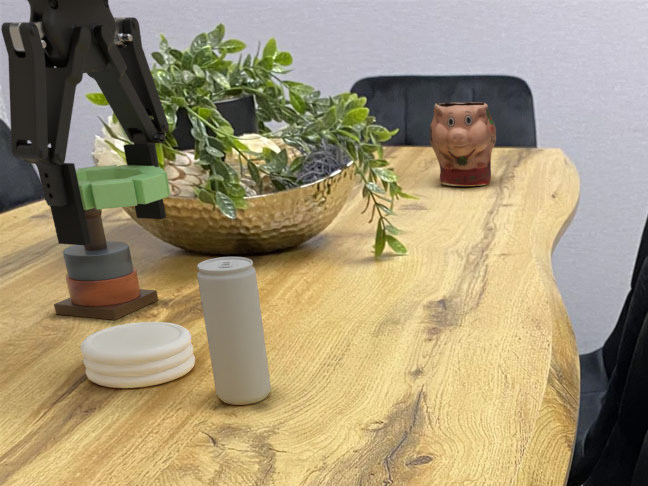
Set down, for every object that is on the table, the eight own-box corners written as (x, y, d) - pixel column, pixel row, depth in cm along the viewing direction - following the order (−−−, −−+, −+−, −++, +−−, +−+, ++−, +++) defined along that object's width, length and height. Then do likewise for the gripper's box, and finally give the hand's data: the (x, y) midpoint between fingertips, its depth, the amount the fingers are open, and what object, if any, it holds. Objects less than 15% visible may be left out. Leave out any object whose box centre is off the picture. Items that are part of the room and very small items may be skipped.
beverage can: (214, 408, 84) (192, 272, 79) (219, 388, 88) (198, 258, 83) (271, 404, 85) (252, 269, 79) (272, 384, 89) (256, 254, 84)
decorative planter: (430, 173, 189) (427, 97, 182) (492, 172, 189) (491, 95, 183) (432, 193, 171) (428, 108, 165) (501, 191, 172) (500, 107, 165)
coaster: (81, 395, 87) (73, 358, 86) (92, 359, 96) (84, 325, 94) (196, 383, 90) (190, 347, 88) (196, 349, 98) (190, 316, 97)
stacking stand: (55, 314, 110) (29, 202, 104) (101, 295, 116) (79, 188, 110) (115, 320, 107) (91, 205, 101) (158, 300, 114) (138, 191, 108)
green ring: (22, 206, 82) (16, 182, 81) (98, 185, 91) (94, 163, 90) (120, 212, 80) (115, 187, 79) (190, 190, 88) (187, 167, 87)
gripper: (-11, -64, 66) (63, 263, 76) (182, -54, 84) (220, 207, 95) (-98, -61, 68) (-14, 257, 78) (110, -51, 87) (155, 203, 97)
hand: (115, 230), depth 86 cm, fingers closed on green ring, 10 cm apart
